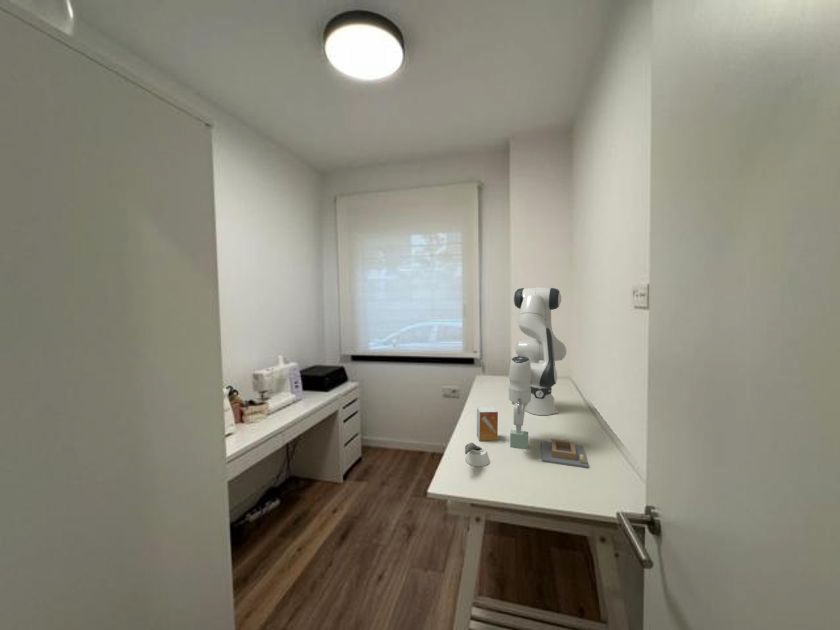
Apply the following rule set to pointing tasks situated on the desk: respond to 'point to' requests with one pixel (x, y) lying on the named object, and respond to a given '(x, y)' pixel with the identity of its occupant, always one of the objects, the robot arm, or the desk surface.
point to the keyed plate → (563, 453)
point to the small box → (487, 424)
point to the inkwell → (476, 455)
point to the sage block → (519, 439)
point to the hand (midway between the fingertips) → (519, 428)
